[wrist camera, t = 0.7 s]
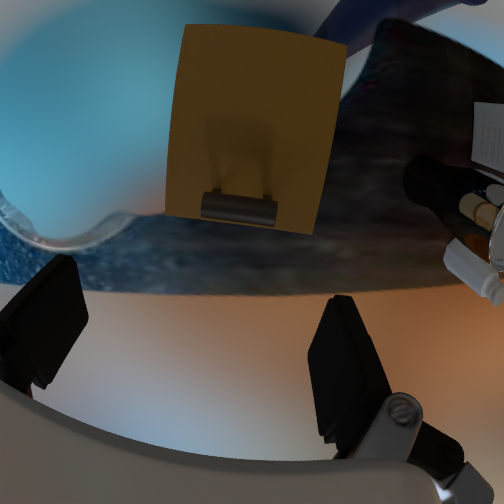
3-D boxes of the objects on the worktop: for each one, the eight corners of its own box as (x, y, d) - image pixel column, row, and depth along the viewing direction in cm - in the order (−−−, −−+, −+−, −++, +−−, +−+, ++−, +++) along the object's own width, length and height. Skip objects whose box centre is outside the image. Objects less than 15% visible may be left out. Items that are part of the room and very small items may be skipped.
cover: (310, 231, 24) (322, 259, 19) (167, 212, 23) (147, 235, 19) (344, 47, 16) (367, 32, 12) (187, 27, 15) (169, 6, 11)
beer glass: (401, 147, 24) (499, 185, 11) (447, 153, 24) (542, 193, 11) (397, 208, 28) (477, 279, 14) (441, 208, 27) (522, 270, 14)
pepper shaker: (456, 273, 32) (496, 319, 22) (436, 262, 31) (479, 311, 21) (474, 242, 29) (520, 284, 19) (455, 228, 28) (506, 271, 19)
